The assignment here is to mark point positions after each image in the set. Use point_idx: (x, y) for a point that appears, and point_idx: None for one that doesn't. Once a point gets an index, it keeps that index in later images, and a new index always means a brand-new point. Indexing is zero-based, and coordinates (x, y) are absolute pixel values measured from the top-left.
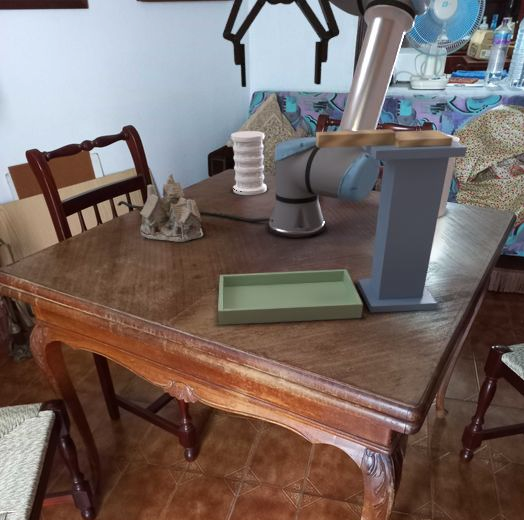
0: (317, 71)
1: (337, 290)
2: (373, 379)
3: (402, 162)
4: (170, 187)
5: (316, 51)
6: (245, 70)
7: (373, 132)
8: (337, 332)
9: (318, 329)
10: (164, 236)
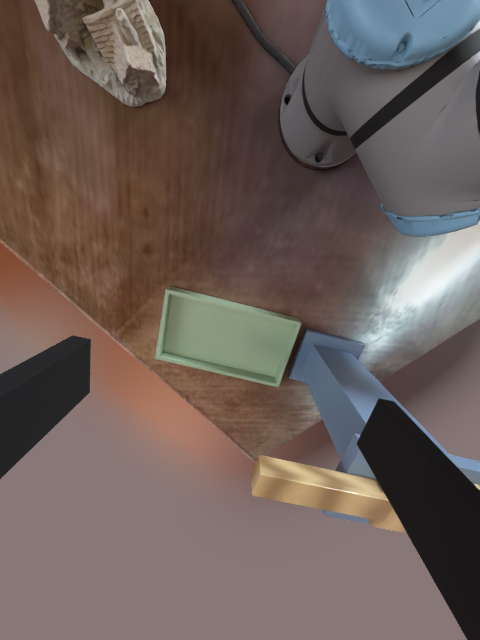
0: (381, 485)
1: (279, 337)
2: (246, 438)
3: None
4: None
5: (465, 562)
6: (42, 436)
7: (349, 511)
8: (248, 390)
9: (236, 382)
10: (98, 78)
